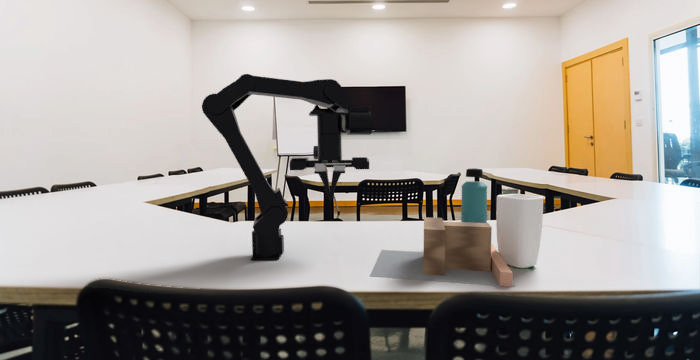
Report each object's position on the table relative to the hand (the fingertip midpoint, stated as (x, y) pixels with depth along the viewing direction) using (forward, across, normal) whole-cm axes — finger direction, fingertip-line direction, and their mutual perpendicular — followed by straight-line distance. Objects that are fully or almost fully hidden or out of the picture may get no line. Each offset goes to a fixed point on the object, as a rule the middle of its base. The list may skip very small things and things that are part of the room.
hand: (330, 199), depth 82 cm
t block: (+13, -26, +14) cm, 32 cm away
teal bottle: (+13, -37, -3) cm, 39 cm away
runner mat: (+13, -23, +13) cm, 29 cm away
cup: (+13, -40, +13) cm, 44 cm away
